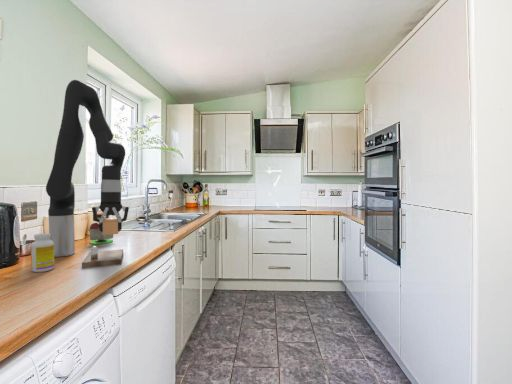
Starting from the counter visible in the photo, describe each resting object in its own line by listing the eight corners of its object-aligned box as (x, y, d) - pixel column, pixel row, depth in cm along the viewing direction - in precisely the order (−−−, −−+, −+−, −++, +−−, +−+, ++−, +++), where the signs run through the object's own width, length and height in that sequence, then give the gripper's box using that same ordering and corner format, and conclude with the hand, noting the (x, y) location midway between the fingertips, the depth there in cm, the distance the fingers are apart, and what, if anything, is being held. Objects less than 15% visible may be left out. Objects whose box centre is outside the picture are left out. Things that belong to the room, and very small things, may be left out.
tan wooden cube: (102, 234, 119) (102, 220, 119) (104, 232, 124) (104, 218, 124) (117, 234, 121) (117, 219, 121) (118, 232, 126) (119, 218, 126)
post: (90, 259, 112) (90, 247, 112) (91, 258, 114) (91, 245, 114) (97, 258, 113) (97, 246, 113) (98, 257, 115) (98, 245, 115)
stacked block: (84, 242, 154) (83, 214, 153) (109, 239, 162) (109, 212, 162) (90, 246, 145) (89, 215, 145) (117, 242, 154) (116, 213, 153)
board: (81, 268, 108) (81, 262, 108) (89, 256, 124) (89, 252, 124) (121, 264, 112) (121, 259, 112) (123, 253, 129) (123, 249, 129)
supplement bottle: (59, 268, 108) (58, 233, 107) (40, 273, 102) (39, 236, 101) (45, 266, 110) (44, 232, 110) (27, 271, 104) (26, 235, 103)
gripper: (89, 190, 116) (89, 233, 116) (129, 191, 121) (128, 232, 121) (93, 190, 123) (92, 230, 123) (130, 190, 128) (130, 229, 128)
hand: (110, 231), depth 122 cm, fingers closed on tan wooden cube, 5 cm apart
